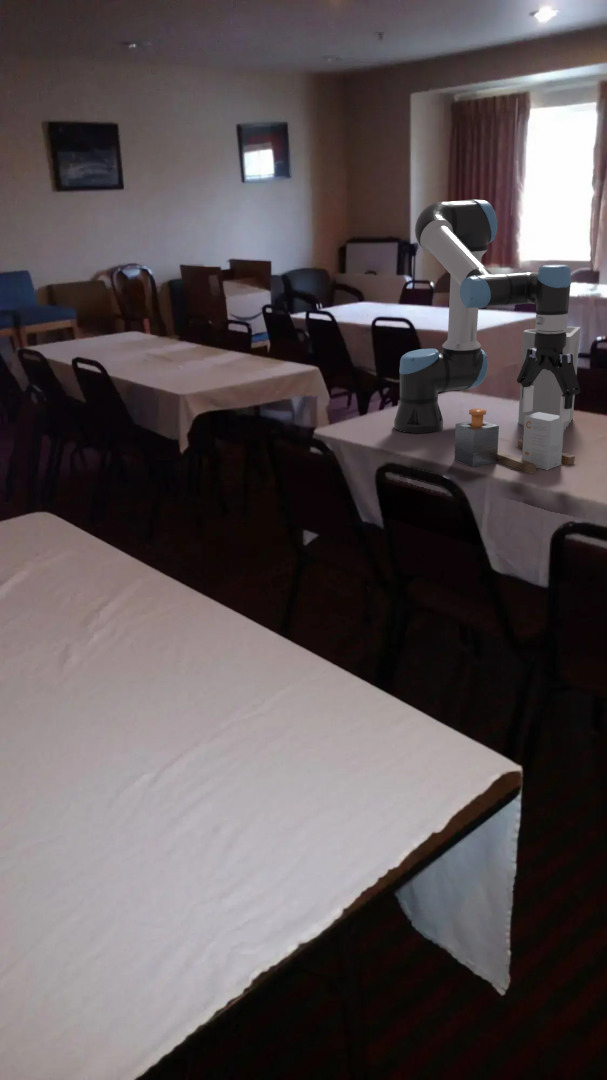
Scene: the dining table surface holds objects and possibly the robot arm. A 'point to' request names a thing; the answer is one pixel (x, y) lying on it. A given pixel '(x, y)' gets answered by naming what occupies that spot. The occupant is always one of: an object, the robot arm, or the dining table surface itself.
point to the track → (526, 465)
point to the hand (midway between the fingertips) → (545, 416)
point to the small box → (543, 440)
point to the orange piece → (477, 417)
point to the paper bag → (548, 378)
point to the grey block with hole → (476, 443)
